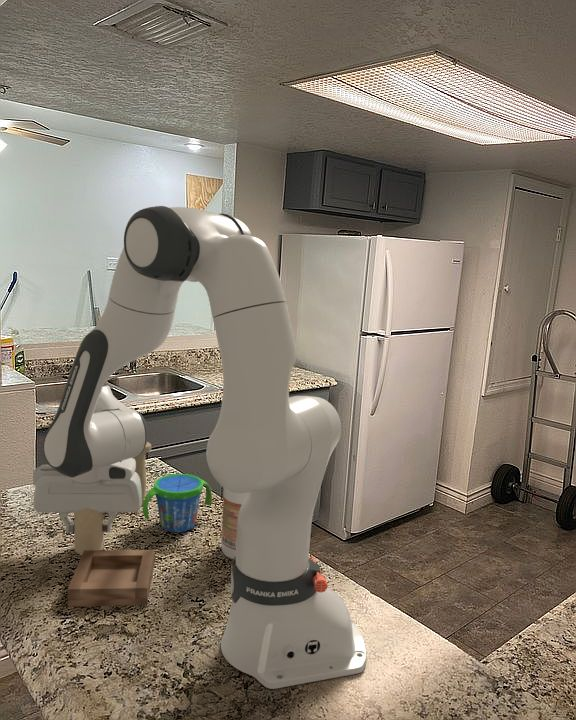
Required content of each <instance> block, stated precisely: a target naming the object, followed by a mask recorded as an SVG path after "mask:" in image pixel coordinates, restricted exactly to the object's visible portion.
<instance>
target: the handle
mask: <svg viewBox="0 0 576 720" xmlns="http://www.w3.org/2000/svg"><path fill="white" fill-rule="evenodd" d="M150 451H152V443H150V442H148V441H147V444H146V447H145V449H144V450H143V452H142V453H141V454H140V455H137V456H135V457H133V459H135V461H136V469H135V472H136V473H137V474H138V475H139V478H140V482H141V489H142V505H141V507H143V503H144V499H145V497H146V492H147V491H146V490H147V474H146V473H147V472H146V471H147V470H146V454H147V453H149V452H150Z"/></svg>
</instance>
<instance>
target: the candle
mask: <svg viewBox="0 0 576 720" xmlns="http://www.w3.org/2000/svg"><path fill="white" fill-rule="evenodd" d="M104 513H105V512H97V511H95V510H92V509H90V508H83V509H81V510H79V511H77V512H75V513H73V517H74V518H73V519H74V520H73V521H74V534H73V537H74V538H73V540H74V541H73V542H74V552H75V553H76V554H78V555H81V556H82V554H83V552H84V550H104V546H105V545H104V538H105V536H104V535H105V534H104V533H105V532H103V523H104V521H105V520H104V517H105V515H104Z"/></svg>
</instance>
